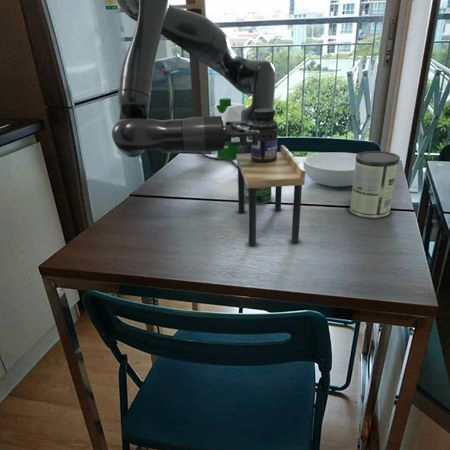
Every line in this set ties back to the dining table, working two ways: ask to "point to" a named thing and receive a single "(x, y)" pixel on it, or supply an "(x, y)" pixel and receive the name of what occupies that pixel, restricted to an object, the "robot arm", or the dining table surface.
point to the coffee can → (373, 183)
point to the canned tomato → (258, 194)
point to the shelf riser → (270, 177)
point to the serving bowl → (331, 168)
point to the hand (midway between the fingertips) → (272, 130)
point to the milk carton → (229, 114)
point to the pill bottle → (264, 149)
